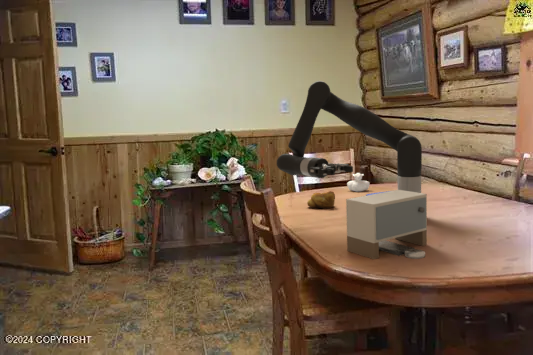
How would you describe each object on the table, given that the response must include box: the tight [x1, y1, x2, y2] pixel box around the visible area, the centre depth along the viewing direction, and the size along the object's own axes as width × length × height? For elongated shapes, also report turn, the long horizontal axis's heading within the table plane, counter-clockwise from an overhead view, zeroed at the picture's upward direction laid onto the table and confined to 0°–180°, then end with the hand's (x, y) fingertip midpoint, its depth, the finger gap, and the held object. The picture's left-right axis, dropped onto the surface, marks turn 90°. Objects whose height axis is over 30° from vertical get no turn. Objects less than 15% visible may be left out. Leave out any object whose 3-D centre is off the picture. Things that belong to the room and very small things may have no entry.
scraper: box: [379, 240, 415, 257], centre depth 166 cm, size 20×7×13 cm, turn 33°
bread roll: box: [307, 190, 336, 209], centre depth 235 cm, size 13×10×8 cm
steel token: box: [404, 248, 426, 260], centre depth 156 cm, size 6×6×2 cm
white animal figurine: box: [346, 172, 371, 193], centre depth 271 cm, size 12×8×11 cm
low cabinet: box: [345, 189, 428, 260], centre depth 164 cm, size 14×24×17 cm, turn 123°
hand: (343, 170), depth 180 cm, fingers open, 8 cm apart
